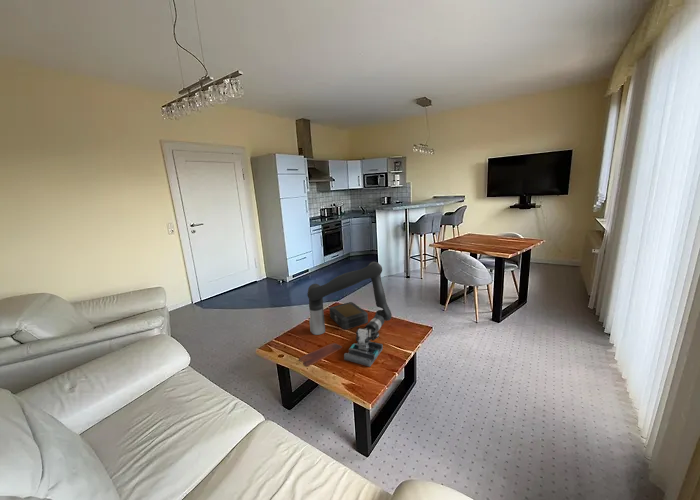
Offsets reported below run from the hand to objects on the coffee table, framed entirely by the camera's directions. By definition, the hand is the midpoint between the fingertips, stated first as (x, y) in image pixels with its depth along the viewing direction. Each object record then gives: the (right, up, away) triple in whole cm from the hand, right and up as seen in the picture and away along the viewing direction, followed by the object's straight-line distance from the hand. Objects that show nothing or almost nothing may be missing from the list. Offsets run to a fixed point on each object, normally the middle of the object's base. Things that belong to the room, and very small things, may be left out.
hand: (361, 340), depth 161 cm
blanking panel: (+2, -7, +4) cm, 8 cm away
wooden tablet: (-23, -11, +8) cm, 27 cm away
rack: (+2, -9, +5) cm, 11 cm away
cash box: (-8, 0, +48) cm, 49 cm away
